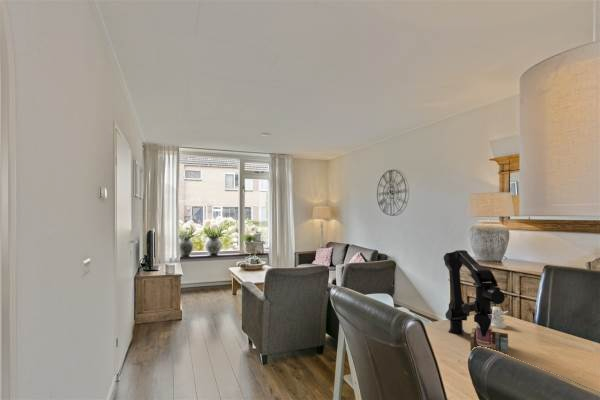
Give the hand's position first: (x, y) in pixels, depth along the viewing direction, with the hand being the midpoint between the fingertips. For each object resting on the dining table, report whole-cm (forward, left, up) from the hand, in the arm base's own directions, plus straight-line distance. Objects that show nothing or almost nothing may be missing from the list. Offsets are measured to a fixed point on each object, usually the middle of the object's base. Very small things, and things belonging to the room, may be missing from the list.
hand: (484, 334), depth 143 cm
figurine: (-41, +4, -7) cm, 42 cm away
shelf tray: (-4, +2, -7) cm, 8 cm away
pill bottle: (0, 0, -5) cm, 5 cm away
